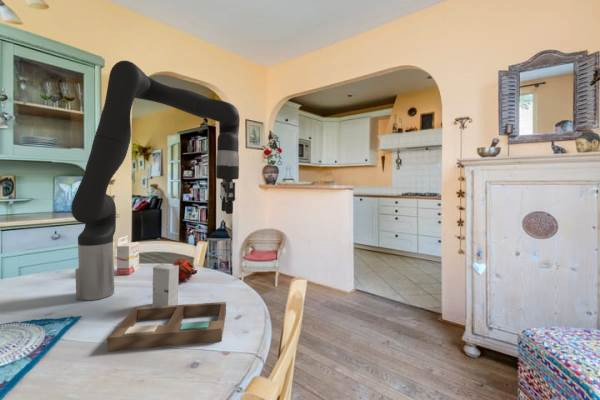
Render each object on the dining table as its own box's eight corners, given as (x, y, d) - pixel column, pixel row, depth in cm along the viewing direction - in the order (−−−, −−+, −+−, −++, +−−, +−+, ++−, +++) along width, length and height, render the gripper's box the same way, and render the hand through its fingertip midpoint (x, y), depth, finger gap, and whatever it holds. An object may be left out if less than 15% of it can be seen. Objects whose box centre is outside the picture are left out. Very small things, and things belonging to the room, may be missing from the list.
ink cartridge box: (129, 275, 112) (129, 238, 112) (116, 275, 112) (115, 238, 111) (140, 268, 121) (139, 234, 120) (128, 269, 120) (127, 234, 120)
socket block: (107, 351, 61) (107, 335, 61) (134, 318, 76) (134, 306, 76) (221, 340, 66) (221, 326, 66) (226, 312, 81) (226, 300, 80)
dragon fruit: (178, 278, 114) (190, 291, 105) (161, 270, 108) (171, 282, 100) (192, 260, 116) (204, 271, 107) (175, 251, 110) (187, 261, 102)
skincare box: (151, 307, 83) (150, 266, 83) (163, 301, 88) (162, 262, 87) (168, 310, 81) (168, 269, 81) (179, 304, 86) (179, 264, 85)
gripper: (213, 165, 101) (212, 210, 102) (219, 163, 88) (218, 214, 89) (234, 166, 104) (233, 210, 105) (243, 164, 91) (242, 214, 92)
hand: (226, 212), depth 97 cm, fingers open, 8 cm apart
